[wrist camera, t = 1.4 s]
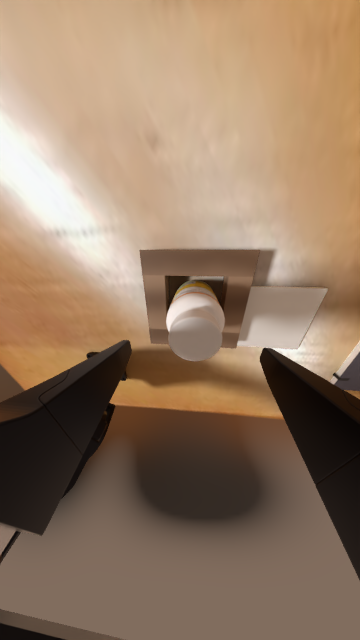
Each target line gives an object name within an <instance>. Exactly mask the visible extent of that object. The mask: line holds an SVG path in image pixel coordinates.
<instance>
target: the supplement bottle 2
mask: <svg viewBox="0 0 360 640" xmlns="http://www.w3.org/2000/svg"><path fill="white" fill-rule="evenodd" d="M166 324H167V328H168V331H169V335H168V341H169V345H170V348H171V349H172V351H173V352H174V353H175V354H176V355H177V356H179V357H181V358H183V359H185V360H189V361H202V360H206V359H209V358H211V357H212V356H214V355H215V354H216V353H217V352H218V351H219V349H220V347H221V345H222V331H223V328H224V324H225V317H224V313H223V310H222V308H221V306H220V304H219V302H218V300H217V298H216V296H215V294H214V292H213V290H212V289H211V287H210V286H209V285H208V284H206V283H205V282H202V281H199V280H191V281H188V282H185V283H184V284H182V285H181V286H180V287H179V288H178V290H177V292H176V294H175V296H174V299H173V301H172V303H171V306H170V308H169V310H168V313H167V318H166Z"/></svg>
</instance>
